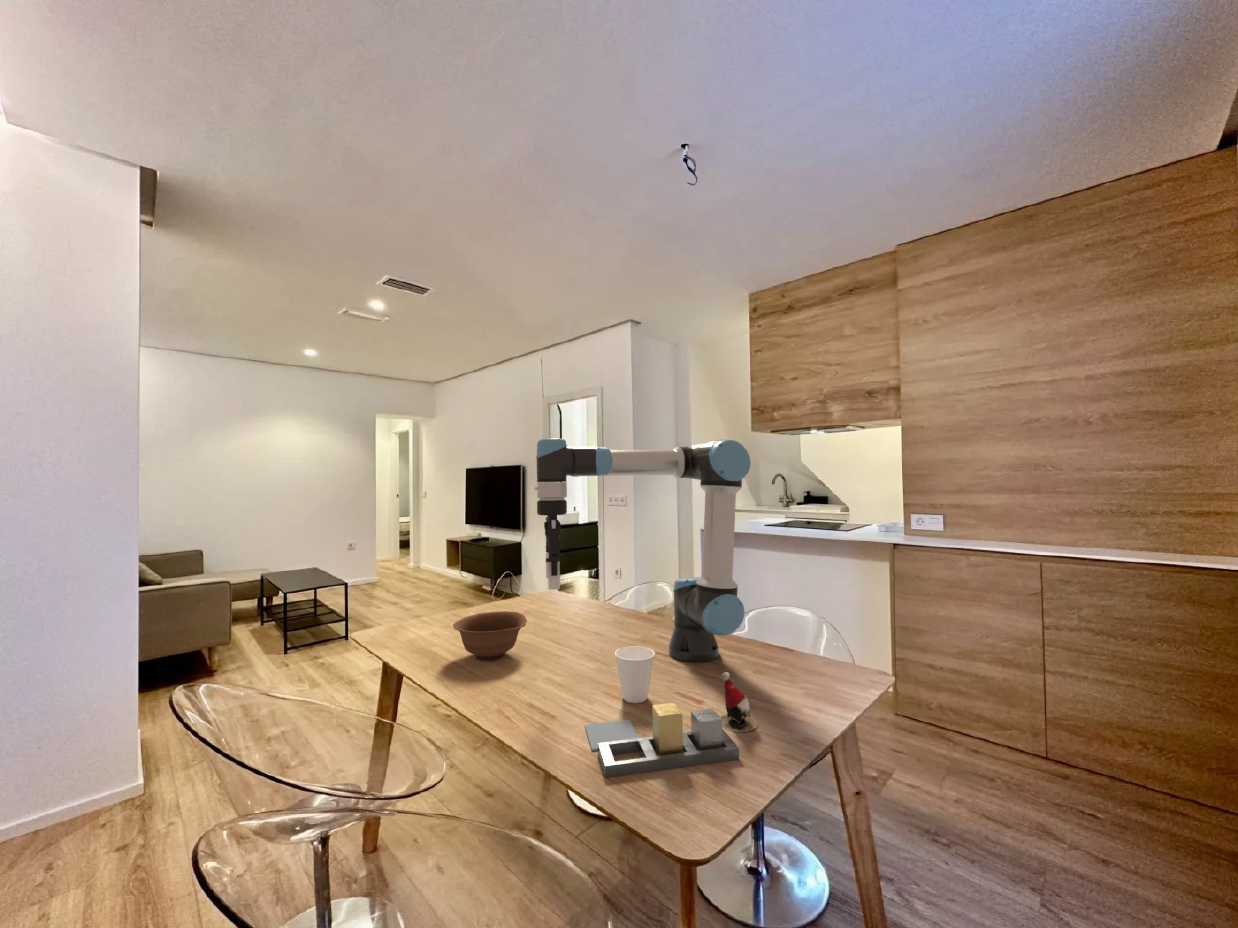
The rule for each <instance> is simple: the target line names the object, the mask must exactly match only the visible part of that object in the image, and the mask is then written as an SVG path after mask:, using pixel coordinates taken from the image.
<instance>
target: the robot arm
mask: <svg viewBox="0 0 1238 928" xmlns="http://www.w3.org/2000/svg"><path fill="white" fill-rule="evenodd" d="M536 444H537V445H536V457H535V458H536V483H537V485H536V486H534V491H537V493H536V495H537V498H538V500H537V501H536V513H537V515H538V516H546V517H545V520H546V521H544V522H543V529H544V535H545V552H546V553H545V571H546V572H545V573H546V574H545V577H546V579H547V581H548V584H547V585H548V586H547V587H548V590H561V571H560V569H561V567H560V566H561V564H560V561H561V550H560V537H561V521H559V519H558V516H565V515H566V514H568V510H567V509H568V505H567V504H568V503H567V500H566V498H567V497H568V487H567V486H568V482H567V477H568V476H571V477H575V478H577V477H600V476H602V477H604V476H605V477H607V476H608V477H609V476H614V477H615V476H669V475H670V476H673V477H674V478H676V479H691V480H698V481H699V480H700V486H699V487H700V488H702V491H704V494H705V495H704V512H703V513H704V514H703V515H704V516H703V517H704V518H703V537H702V538H703V541H702V559H701V560H702V562H701V576H699V577H697V576H696V577H695V576H693V577H692V576H691V577H682V578H677V579H676V580H675V581H674V583H673V591H672V592H673V618H674V623H673V624H674V626H673V630H672V634H671V637H670V640H669V644H668V654H669V655H670V657H672V658H674V659H676V660H679V661H684V662H688V663H689V662H691V663H704V662H710V661H713V660H715V659H717V658H718V657H719V655H720V654H719V649H720V648H719V645H718V642H717V638H716V636H719V637H720V636H721V637H726V636H729V635H731V634H733V633H734V632H736V631H737V630H738V629H739V628H741V627H740V626H742V623H743V622H744V619H745V606H744V603H743V602H742V600H741V599H740V597H738V591H739V590H738V589H739V588H738V584H737V583H736V582H735V580H734V579H733V575H734V573H733V572H734V547H735V527H736V525H735V523H736V503H737V501H736V500H737V493H738V492H739V491H740V490H742V488H743V487H742V486H743V479H744V478H745V477H746V476H747V474H748V473H749V472H750V468H751V457H750V454H749V451H747V448H745V446H744V445H743V444H742V443H740V442H739V441H736V440H735V439H734V440H733V439H718V440H714V441H708V442H702V443H701V442H700V443H698V444H694V445H688V446H676V447H674V448H673V449H649V450H648V449H631V450H630V449H620V450H619V449H610V448H608V447H605V446H603V447H602V446H568V445H567V441H566V440H565V439H564V438H557V437H555V438H552V437H551V438H547V437H546V438H541V439H539V440H538V441H537V443H536ZM715 635H716V636H715Z"/></svg>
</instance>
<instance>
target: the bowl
mask: <svg viewBox="0 0 1238 928" xmlns="http://www.w3.org/2000/svg"><path fill="white" fill-rule="evenodd" d="M527 622H528V619H527V618H526V616H525V614H522V613H520V612H517V611H507V610H505V611H501V610H500V611H487V612H479V613H475V614H472V615H469V616H468V615H467V616H464V617H463V618H461V619H459V620H457V621H455V622H454V623H453V624H452V626H453V629H454V630H456V631H458V632H459V634H460V637H461V642H462V645H463V647H464V649H465V651H466V652H468V653H470V654H471V655H473V656H475V660H477V661H479V662H483V661H486V662H487V663H488V661H489V662H496V661H499V660H502V659H503V658H505V657H506V653H507V652H509V651H510V650H511V649H513V648H514V646H515V645H516V643H517V639H518V636H519V632H520V630H521V629H522V628H524V627H526V625H527ZM486 662H485V663H486Z"/></svg>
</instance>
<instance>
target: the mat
mask: <svg viewBox="0 0 1238 928" xmlns="http://www.w3.org/2000/svg"><path fill="white" fill-rule="evenodd" d="M584 729H585V733H586V737H587V739H588V744H589V746H590V749H591V752H598V743H602V742H610V741H619V740H627V739H635V738H639V736H638V734H637V732H636V730H635V728H634V726H633V724H632V722H631V720H630V719H624V720H615V721H614V720H613V721H605V722H598V723H597V722H596V723H588V724H587V723H586V724H584Z"/></svg>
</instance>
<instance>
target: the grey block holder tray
mask: <svg viewBox="0 0 1238 928" xmlns="http://www.w3.org/2000/svg"><path fill="white" fill-rule="evenodd" d="M634 752H639V755H640V758H634V759H626V760H625V759H624V760H618V761H615V758H614V755H618V754H619V755H621V754H626V753H627V754H628V753H634ZM597 756H598V759H599V762H600V765H601V768H602V771H603V775H604V777H605V778H612V777H618V776H619V777H620V776H626V775H627V776H628V775H634V774H635V775H636V774H641V773H649V772H656V771H664V770H673V769H678V768H679V769H680V768H685V767H693V766H700V765H706V764H707V765H708V764H715V763H723V762H727V761H728V762H730V761H736V760H740V748H739V746H738V745H737V744H736V743H735V742H734V740H733V739H732V738H731V737H730V736H729V734H728V733H727V732H726V731H725V730H724V728H722V748H716V749H709V750H701V751H697V749H696V748H695V746H694V745H693V743H692V742H691V731H687V732H685V731H684V732H683V753H678V754H670V755H663V756H657V755H656V753H655V751H654V749H653V735H652V736H646V737H644V736H643V737H638V738H635V739H627V740H619V741H610V742H602V743H598V751H597Z"/></svg>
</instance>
